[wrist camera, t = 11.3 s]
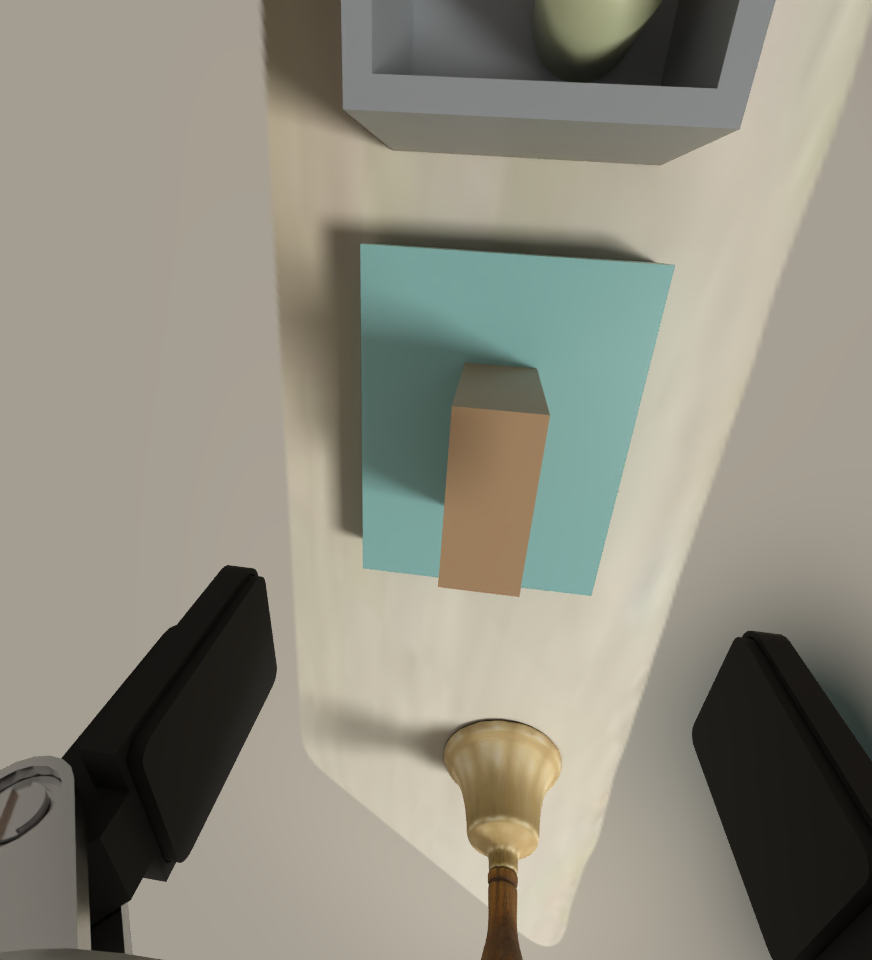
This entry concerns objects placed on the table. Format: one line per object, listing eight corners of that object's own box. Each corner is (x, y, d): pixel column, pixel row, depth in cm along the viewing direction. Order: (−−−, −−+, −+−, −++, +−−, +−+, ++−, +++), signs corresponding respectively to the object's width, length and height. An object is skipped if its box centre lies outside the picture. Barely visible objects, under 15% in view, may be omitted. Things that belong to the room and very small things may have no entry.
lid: (375, 243, 21) (304, 245, 14) (655, 262, 20) (748, 276, 13) (373, 542, 28) (327, 654, 21) (583, 566, 27) (616, 693, 20)
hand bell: (573, 790, 36) (620, 1156, 21) (463, 799, 38) (441, 1139, 23) (546, 711, 33) (581, 1079, 18) (428, 726, 35) (378, 1068, 20)
